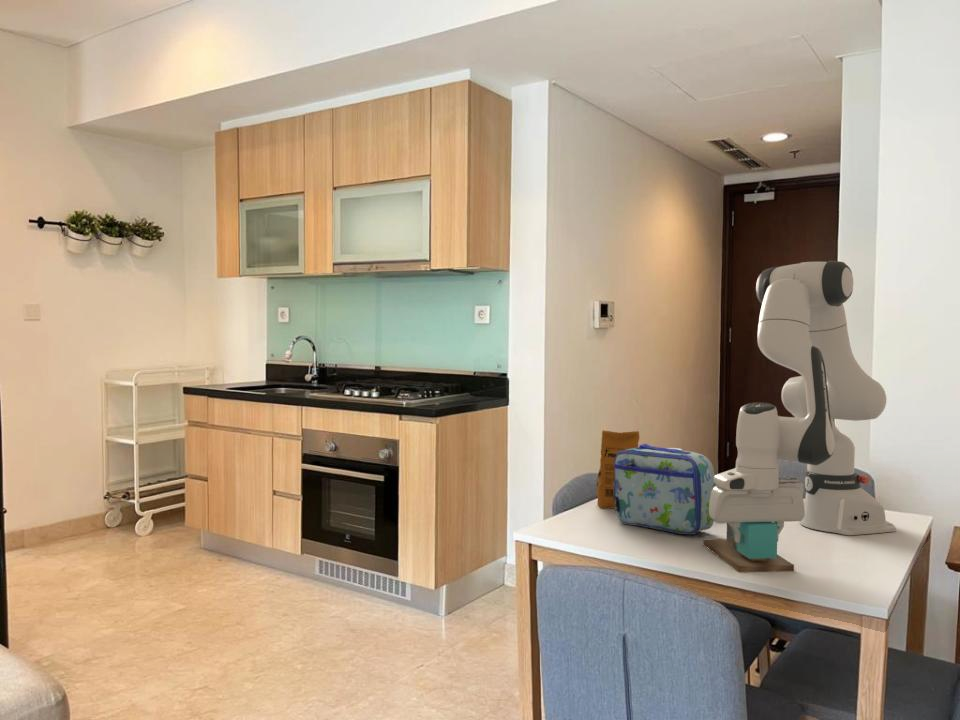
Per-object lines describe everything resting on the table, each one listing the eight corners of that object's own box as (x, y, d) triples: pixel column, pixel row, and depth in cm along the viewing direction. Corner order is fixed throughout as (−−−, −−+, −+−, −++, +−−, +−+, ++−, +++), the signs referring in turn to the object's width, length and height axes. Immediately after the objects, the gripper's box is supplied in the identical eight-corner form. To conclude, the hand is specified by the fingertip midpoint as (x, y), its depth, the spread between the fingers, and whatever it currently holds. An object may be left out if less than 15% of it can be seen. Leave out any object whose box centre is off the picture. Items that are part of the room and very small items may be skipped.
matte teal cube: (763, 549, 164) (764, 517, 164) (776, 558, 158) (777, 525, 158) (736, 550, 164) (736, 518, 163) (748, 558, 158) (749, 525, 157)
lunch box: (607, 521, 197) (608, 443, 196) (631, 515, 204) (631, 439, 203) (695, 542, 178) (696, 455, 177) (718, 533, 185) (719, 450, 184)
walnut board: (752, 543, 176) (752, 538, 176) (794, 570, 156) (794, 565, 156) (703, 544, 175) (703, 539, 175) (738, 572, 156) (738, 566, 155)
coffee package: (597, 501, 221) (598, 427, 220) (640, 503, 218) (640, 429, 217) (595, 508, 211) (595, 432, 210) (639, 511, 208) (640, 433, 207)
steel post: (740, 543, 173) (741, 517, 172) (747, 547, 169) (747, 521, 169) (726, 543, 172) (726, 517, 172) (732, 547, 169) (732, 521, 169)
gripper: (796, 474, 164) (795, 536, 165) (706, 476, 163) (705, 538, 163) (810, 480, 158) (809, 544, 158) (717, 482, 156) (716, 547, 157)
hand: (756, 541), depth 161 cm, fingers closed on matte teal cube, 6 cm apart
